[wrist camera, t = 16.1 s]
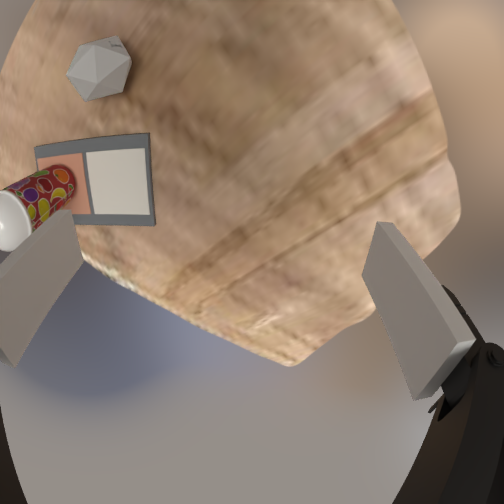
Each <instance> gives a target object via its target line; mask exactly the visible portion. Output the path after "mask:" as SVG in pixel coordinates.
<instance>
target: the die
mask: <svg viewBox="0 0 504 504" xmlns="http://www.w3.org/2000/svg"><path fill="white" fill-rule="evenodd" d="M131 64H132V61H131V57H130V56H129V54H128V52H127V51H126V49H125V47H124V46H123V44H122V42H121V41H120V39H119V37H118V36H112V37H108V38H104V39H100V40H97V41H93V42H89V43H86V44H83V45H80V46H79V48H78V50H77V52H76V54H75V56H74V58H73V60H72V63H71V65H70V67H69V69H68V72H67V74H66V76H67V77H68V79H69V80H70V82H71V83H72V84H73V86H74V87H75V89H76V90H77V92H78V93H79V94H80V96H81V97H82V99H83V100H84V101H85V102H87V101H91V100H94V99H98V98H101V97H105V96H109V95H113V94H117V93H121V92H123V89H124V85H125V82H126V79H127V76H128V73H129V70H130V67H131Z"/></svg>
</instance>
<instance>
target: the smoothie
mask: <svg viewBox="0 0 504 504" xmlns="http://www.w3.org/2000/svg"><path fill="white" fill-rule="evenodd" d="M74 191H75V179H74V177H73V174H72V173H71V172H70V170H69V169H67V168H66V167H64V166H59V165H51V166H49V167H47V168H45V169H42V170H40V171H38V172H36V173H34V174H32V175H30V176H28V177H26V178H24V179H22V180H20V181H18V182H16V183H14V184H12V185H10V186H8V187H6V188H4V189H3V190H0V250H2V251H8V252H12V251H14V250H15V249H16V248H17V247H18V246H19V245H20V244H21V243H22V242H23V241H24V240H25V239H26V238H27V237H28V236H30V235H31V234H32V233H33V232H34V231H35V230H36V229H37V228H38V227H39V226H40V225H42V224H43V223H44V222H45V221H46V220H47V219H48V218H49V217H51V216H52V215H53V214H54V213H55V212H56V211H58V210H62V209H63V208H64V207H65V206H66V205H67V204H68V203H69V202H70V201H71V199H72V197H73V195H74Z"/></svg>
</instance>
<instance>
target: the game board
mask: <svg viewBox="0 0 504 504" xmlns="http://www.w3.org/2000/svg"><path fill="white" fill-rule="evenodd" d="M34 150H35V157H36V164H37V171H40V170H42V169H45V168H47V167H49V166H51V165H59V166H64V167H66V168H67V169H69V170H70V172H71V173H72V174H73V177H74V179H75V191H74V195H73V197H72V199H71V201H70V202H69V203H68V204H67V205H66V206H65V207H64V208H63V209H62V210H71V212H72V217H73V221H74V225H127V226H155V225H156V219H155V209H154V198H153V186H152V172H151V155H150V133H139V134H125V135H113V136H103V137H94V138H86V139H78V140H71V141H65V142H58V143H52V144H46V145H41V146H36V147H34Z"/></svg>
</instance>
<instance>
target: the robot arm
mask: <svg viewBox="0 0 504 504" xmlns="http://www.w3.org/2000/svg"><path fill="white" fill-rule="evenodd" d="M83 262H84V260H83V257H82V253H81V249H80V246H79V242H78V238H77V234H76V230H75V225H74V221H73V217H72V212H71V210H58V211H56V212H55V213H54V214H53V215H52V216H51V217H49V218H48V219H47V220H46V221H45V222H44V223H43V224H42V225H40V226H39V227H38V228H37V229H36V230H35V231H34V232H33V233H32V234H31V235H30V236H28V237H27V238H26V239H25V240H24V241H23V242H22V243H21V244H20V245H19V246H18V247H17V248H16V249H15V250H14V251H13V252H12V253H11V254H10V255H9V256H8V257H7V258H6V259H5V260H4V261H3V262H2V263H1V264H0V360H1V362H2V363H4V364H6V365H8V366H11V367H13V368H15V367H16V366H17V364H18V362H19V360H20V358H21V356H22V355H23V353H24V351H25V349H26V348H27V346H28V344H29V342H30V341H31V339H32V337H33V336H34V334H35V332H36V331H37V329H38V328H39V326H40V324H41V323H42V321H43V319H44V318H45V316H46V315H47V313H48V312H49V310H50V309H51V307H52V306H53V304H54V303H55V301H56V299H57V298H58V297H59V295H60V294H61V292H62V291H63V290H64V288H65V287H66V285H67V284H68V283H69V281H70V280H71V278H72V277H73V275H74V274H75V273H76V272H77V270H78V269H79V267H80V266H81V265H82V263H83ZM362 277H363V280H364V282H365V284H366V286H367V288H368V290H369V292H370V295H371V297H372V299H373V301H374V303H375V306H376V308H377V310H378V312H379V314H380V317H381V319H382V322H383V324H384V326H385V328H386V331H387V333H388V336H389V338H390V341H391V343H392V345H393V348H394V350H395V353H396V355H397V358H398V360H399V363H400V366H401V368H402V371H403V374H404V376H405V379H406V382H407V385H408V387H409V390H410V393H411V396H412V399H413V401H414V400H419V399H423V398H428V397H432V396H433V394H434V393H435V392H436V391H437V390H438V389H439V387H440V386H441V387H442V390H443V392H444V394H443V395H442V396H441V397H440V398H439V399H438V400H437V401H436V403H435V404H434V405H433V406H432V407H431V408H430V409H429V411H428V413H431V412H432V411H433V410H434V409H435V408H436V411H435V413H434V416H433V419H432V421H431V424H430V427H429V429H428V432H427V435H426V437H425V439H424V441H423V444H422V446H421V449H420V451H419V453H418V455H417V457H416V459H415V462H414V464H413V466H412V468H411V470H410V472H409V474H408V476H407V478H406V480H405V482H404V483H403V485H402V487H401V489H400V491H399V493H398V494H397V496H396V498H395V500H394V502H393V503H392V504H504V350H503V349H502V348H501V347H500V346H498V345H497V344H494V343H485V341H484V340H483V338H482V336H481V335H480V333H479V332H478V330H477V328H476V327H475V325H474V324H473V322H472V320H471V319H470V317H469V316H468V315H467V314H466V311H465V310H464V308H463V307H462V306H461V304H460V303H459V301H458V299H457V298H456V297H455V295H454V294H453V293H452V292H451V291H450V290H448V289H447V288H446V287H445V286H444V285H440V283H439V282H438V280H437V279H436V278H435V276H434V275H433V273H432V272H431V271H430V269H429V268H428V267H427V265H426V264H425V263H424V262H423V260H422V259H421V258H420V256H419V255H418V254H417V252H416V251H415V250H414V249H413V247H412V246H411V245H410V244H409V242H408V241H407V240H406V239H405V237H404V236H403V235H402V234H401V232H400V231H399V230H398V229H397V228H396V226H395V225H394V224H393V223H388V222H378V221H377V223H376V227H375V231H374V235H373V238H372V242H371V246H370V249H369V253H368V256H367V259H366V263H365V266H364V269H363V273H362ZM0 504H28V503H27V501H26V498H25V496H24V493H23V491H22V488H21V485H20V482H19V480H18V476H17V474H16V470H15V467H14V464H13V460H12V457H11V453H10V449H9V446H8V442H7V437H6V433H5V428H4V424H3V418H2V413H1V407H0Z"/></svg>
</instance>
